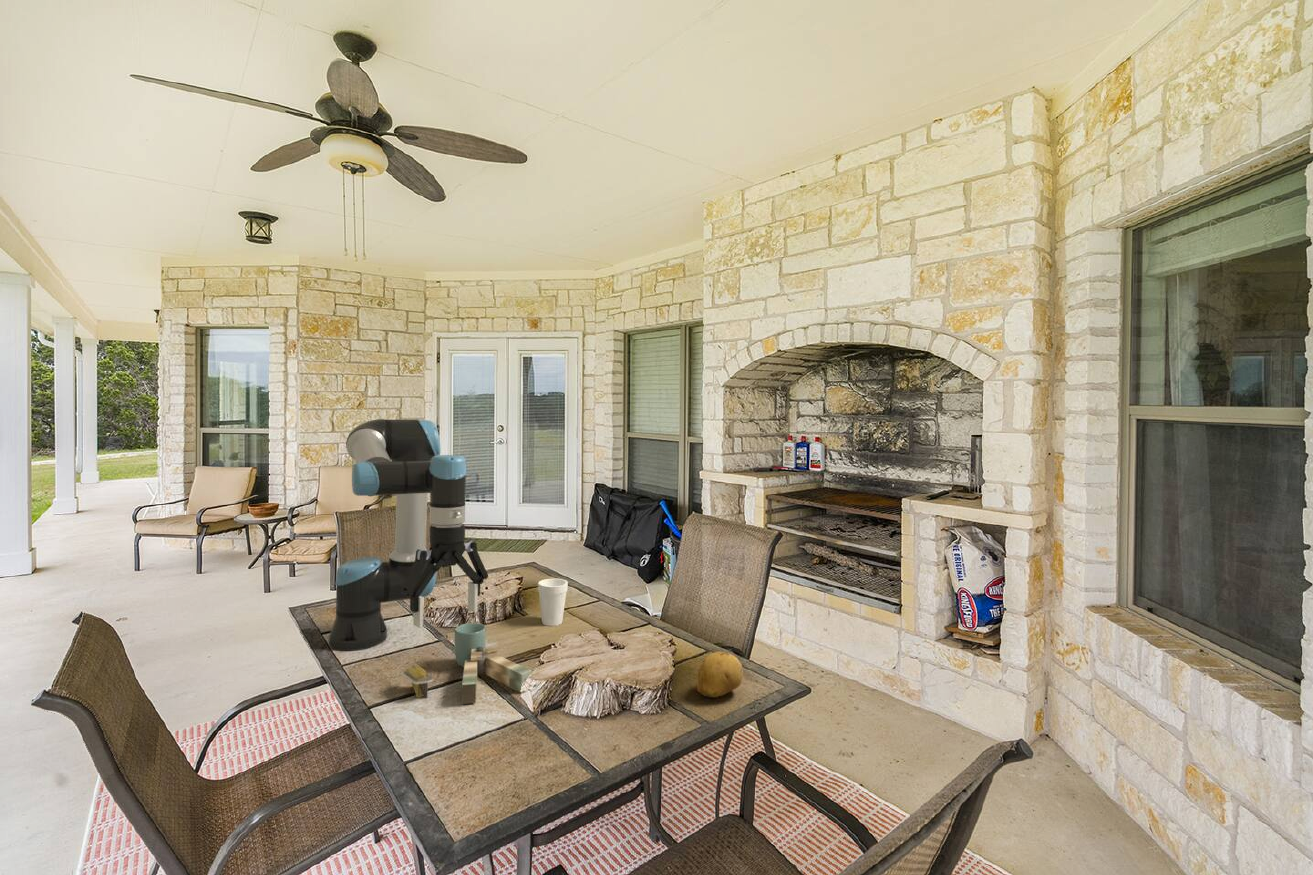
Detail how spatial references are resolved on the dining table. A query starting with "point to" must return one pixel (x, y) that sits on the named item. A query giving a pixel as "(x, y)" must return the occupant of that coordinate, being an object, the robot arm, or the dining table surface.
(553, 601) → the foam cup
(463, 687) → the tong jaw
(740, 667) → the potato
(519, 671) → the tan green block
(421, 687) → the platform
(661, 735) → the dining table surface
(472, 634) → the cup
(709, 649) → the dining table surface
